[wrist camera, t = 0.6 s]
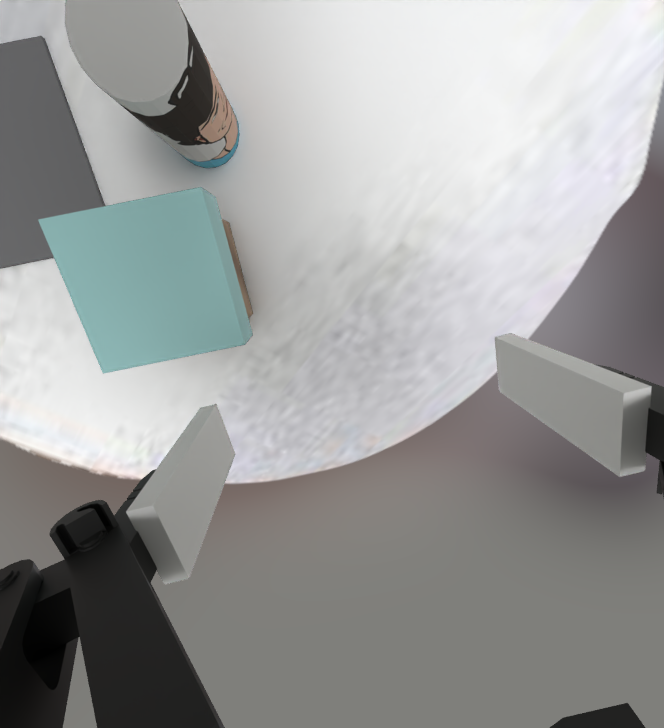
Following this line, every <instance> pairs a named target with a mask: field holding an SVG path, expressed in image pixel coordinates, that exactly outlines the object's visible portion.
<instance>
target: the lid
mask: <svg viewBox="0 0 664 728" xmlns="http://www.w3.org/2000/svg"><path fill="white" fill-rule="evenodd" d="M38 221H39V223H40V226H41V228H42V230H43V233H44V235H45V237H46V240H47V242H48V244H49V247H50V249H51V252H52V254H53V256H54V259H55V261H56V263H57V266H58V268H59V270H60V273H61V275H62V278H63V280H64V282H65V285H66V287H67V289H68V292H69V294H70V296H71V299H72V301H73V304H74V306H75V308H76V311H77V313H78V315H79V318H80V320H81V322H82V325H83V327H84V329H85V332H86V334H87V337H88V339H89V341H90V344H91V346H92V348H93V351H94V353H95V355H96V358H97V360H98V363H99V365H100V367H101V370H102V372H103V373H108V372H113V371H118V370H123V369H127V368H132V367H137V366H142V365H147V364H152V363H157V362H162V361H167V360H172V359H177V358H182V357H187V356H192V355H196V354H201V353H206V352H211V351H216V350H221V349H226V348H231V347H236V346H241V345H245V344H246V343H247V341H248V340H249V339H250V337H251V336H252V335H253V334H252V330H251V326H250V323H249V319H248V315H247V312H246V308H245V304H244V300H243V297H242V293H241V289H240V286H239V282H238V278H237V274H236V271H235V267H234V263H233V260H232V256H231V252H230V249H229V245H228V241H227V237H226V234H225V230H224V226H223V223H222V219H221V215H220V211H219V208H218V204H217V200H216V197H215V196H213V195H212V194H211V193H209V192H208V191H206V190H205V189H203V188H202V187H198V188H193V189H188V190H183V191H178V192H173V193H168V194H163V195H158V196H153V197H148V198H143V199H138V200H133V201H128V202H123V203H118V204H113V205H109V206H104V207H99V208H94V209H89V210H84V211H79V212H74V213H69V214H64V215H59V216H54V217H49V218H44V219H39V220H38Z"/></svg>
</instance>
